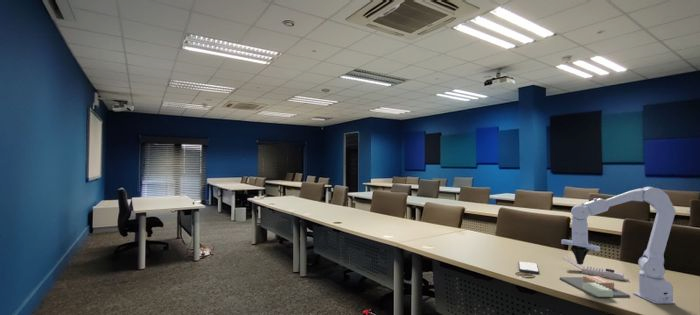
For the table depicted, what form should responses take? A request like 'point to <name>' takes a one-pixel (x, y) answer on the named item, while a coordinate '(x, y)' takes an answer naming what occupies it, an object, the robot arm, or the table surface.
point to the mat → (578, 284)
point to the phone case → (528, 267)
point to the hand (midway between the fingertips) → (580, 263)
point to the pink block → (598, 281)
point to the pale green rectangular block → (597, 289)
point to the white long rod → (598, 271)
